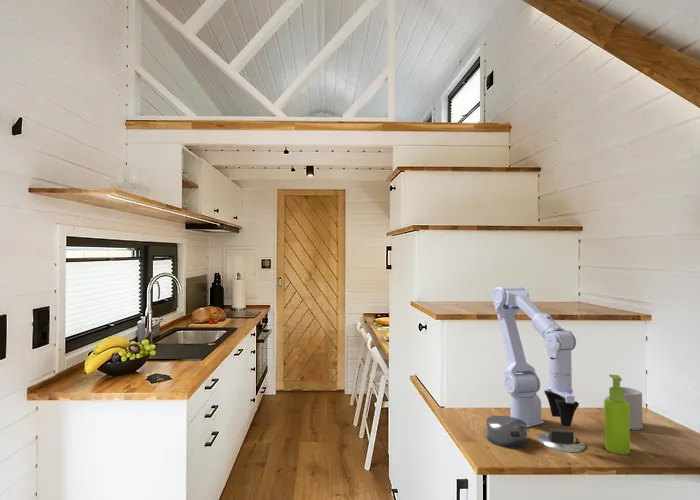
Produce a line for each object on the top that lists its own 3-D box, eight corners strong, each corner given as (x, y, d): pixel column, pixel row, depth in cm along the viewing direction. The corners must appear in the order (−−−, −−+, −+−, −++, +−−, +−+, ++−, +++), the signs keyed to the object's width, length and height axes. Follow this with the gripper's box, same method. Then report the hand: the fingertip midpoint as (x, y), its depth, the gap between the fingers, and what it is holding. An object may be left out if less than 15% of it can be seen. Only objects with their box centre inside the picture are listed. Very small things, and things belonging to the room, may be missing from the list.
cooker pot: (479, 430, 129) (479, 414, 130) (515, 430, 130) (514, 413, 130) (497, 450, 115) (497, 431, 116) (536, 450, 116) (536, 431, 116)
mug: (627, 419, 140) (626, 386, 141) (649, 429, 132) (649, 393, 132) (595, 421, 138) (594, 387, 139) (615, 431, 130) (615, 395, 130)
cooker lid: (532, 435, 127) (532, 421, 128) (574, 437, 126) (574, 423, 126) (546, 452, 116) (546, 437, 116) (592, 455, 114) (592, 440, 114)
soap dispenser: (625, 445, 119) (624, 374, 120) (633, 455, 113) (631, 380, 114) (601, 442, 121) (600, 372, 122) (607, 452, 115) (606, 378, 116)
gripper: (537, 366, 129) (538, 411, 129) (554, 378, 115) (555, 429, 114) (562, 367, 128) (562, 413, 128) (582, 380, 114) (583, 431, 113)
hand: (561, 421), depth 121 cm, fingers open, 7 cm apart
